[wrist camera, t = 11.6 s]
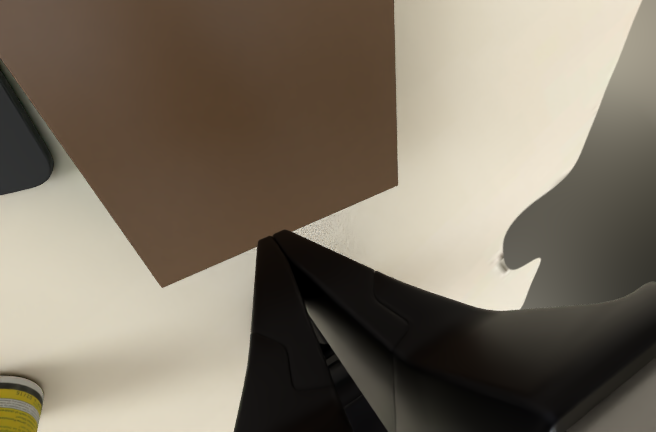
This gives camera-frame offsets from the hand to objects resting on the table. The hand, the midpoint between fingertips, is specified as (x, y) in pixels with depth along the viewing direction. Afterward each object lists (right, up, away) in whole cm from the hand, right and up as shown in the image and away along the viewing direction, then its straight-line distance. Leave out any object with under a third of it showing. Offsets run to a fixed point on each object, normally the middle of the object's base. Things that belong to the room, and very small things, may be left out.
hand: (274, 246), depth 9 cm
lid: (-2, +5, +5) cm, 7 cm away
